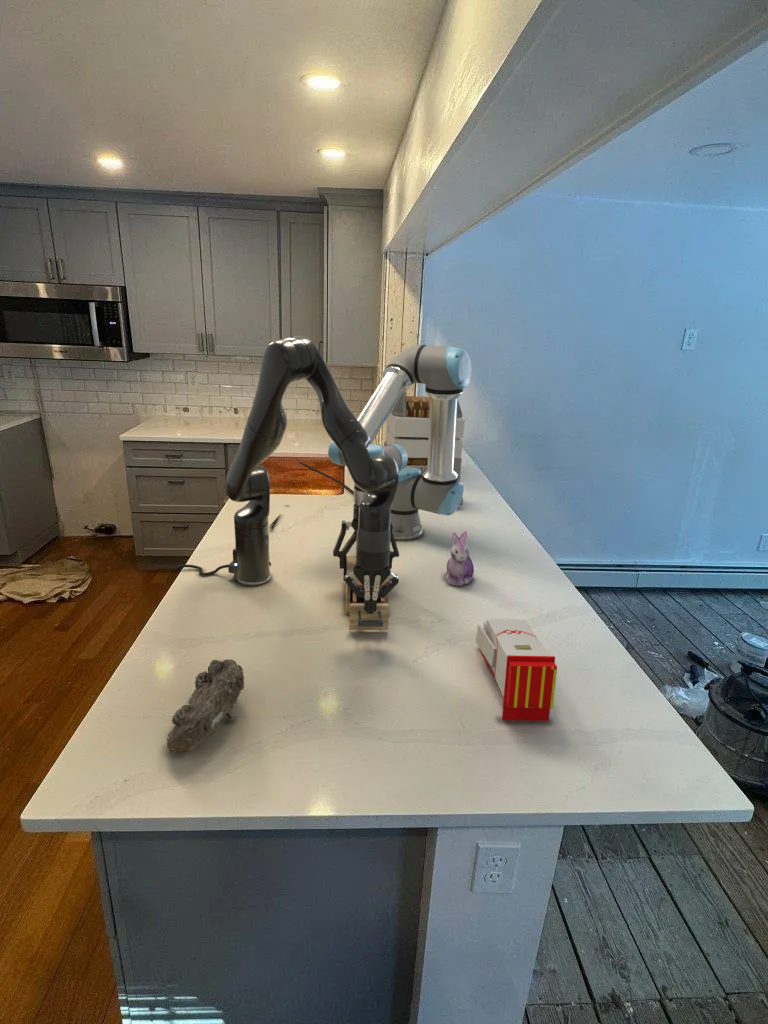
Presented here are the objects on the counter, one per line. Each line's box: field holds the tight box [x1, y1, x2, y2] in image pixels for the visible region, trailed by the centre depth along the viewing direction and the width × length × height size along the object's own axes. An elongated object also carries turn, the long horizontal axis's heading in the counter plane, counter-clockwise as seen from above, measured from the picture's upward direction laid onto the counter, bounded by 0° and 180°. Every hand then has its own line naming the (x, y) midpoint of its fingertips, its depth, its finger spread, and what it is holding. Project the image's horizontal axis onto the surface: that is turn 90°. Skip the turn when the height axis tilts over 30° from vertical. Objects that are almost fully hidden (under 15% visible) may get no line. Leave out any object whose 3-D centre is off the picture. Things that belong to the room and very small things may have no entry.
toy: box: [475, 618, 558, 722], centre depth 122 cm, size 12×13×30 cm
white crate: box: [383, 391, 465, 482], centre depth 268 cm, size 34×33×41 cm
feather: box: [268, 504, 288, 532], centre depth 209 cm, size 2×28×2 cm
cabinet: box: [345, 555, 389, 616], centre depth 153 cm, size 17×11×9 cm, turn 4°
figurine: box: [445, 530, 475, 587], centre depth 165 cm, size 9×10×15 cm
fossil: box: [166, 658, 245, 754], centre depth 106 cm, size 22×10×15 cm
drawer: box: [348, 588, 390, 631], centre depth 142 cm, size 22×9×7 cm, turn 4°
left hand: (370, 612), depth 132 cm, fingers closed
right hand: (365, 578), depth 157 cm, fingers closed on cabinet, 11 cm apart
